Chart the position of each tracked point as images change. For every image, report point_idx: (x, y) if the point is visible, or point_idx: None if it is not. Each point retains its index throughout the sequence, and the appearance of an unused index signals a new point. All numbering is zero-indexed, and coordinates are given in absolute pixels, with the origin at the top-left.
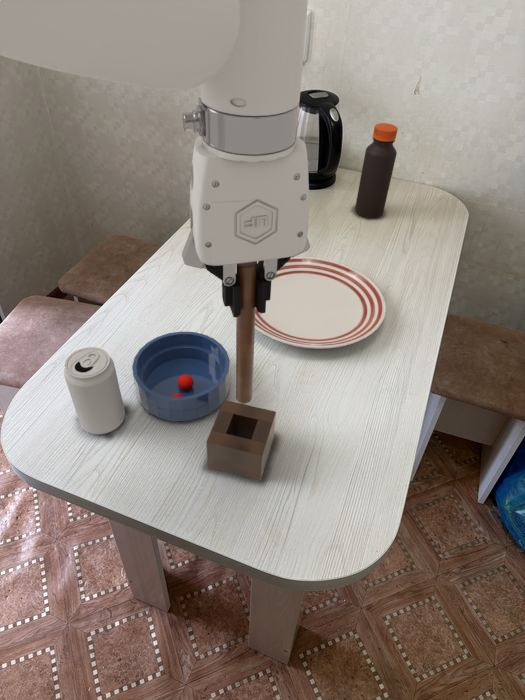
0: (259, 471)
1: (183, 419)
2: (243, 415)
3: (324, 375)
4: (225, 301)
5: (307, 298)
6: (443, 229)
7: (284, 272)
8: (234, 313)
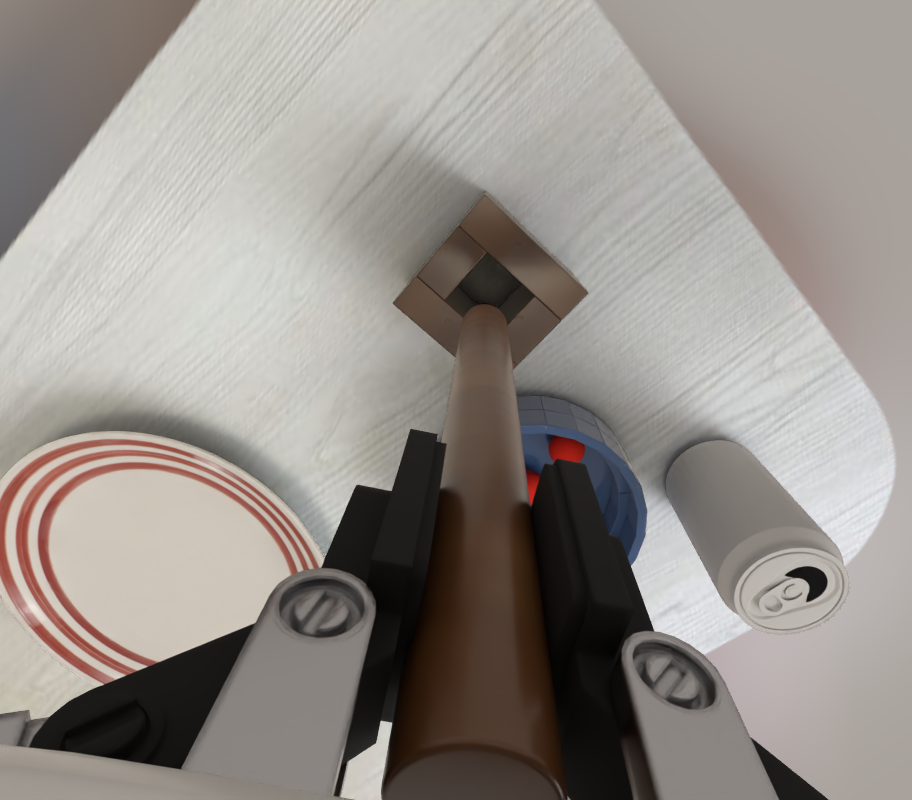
0: (488, 194)
1: (570, 404)
2: None
3: (224, 389)
4: (625, 557)
5: (169, 593)
6: None
7: None
8: (586, 475)
